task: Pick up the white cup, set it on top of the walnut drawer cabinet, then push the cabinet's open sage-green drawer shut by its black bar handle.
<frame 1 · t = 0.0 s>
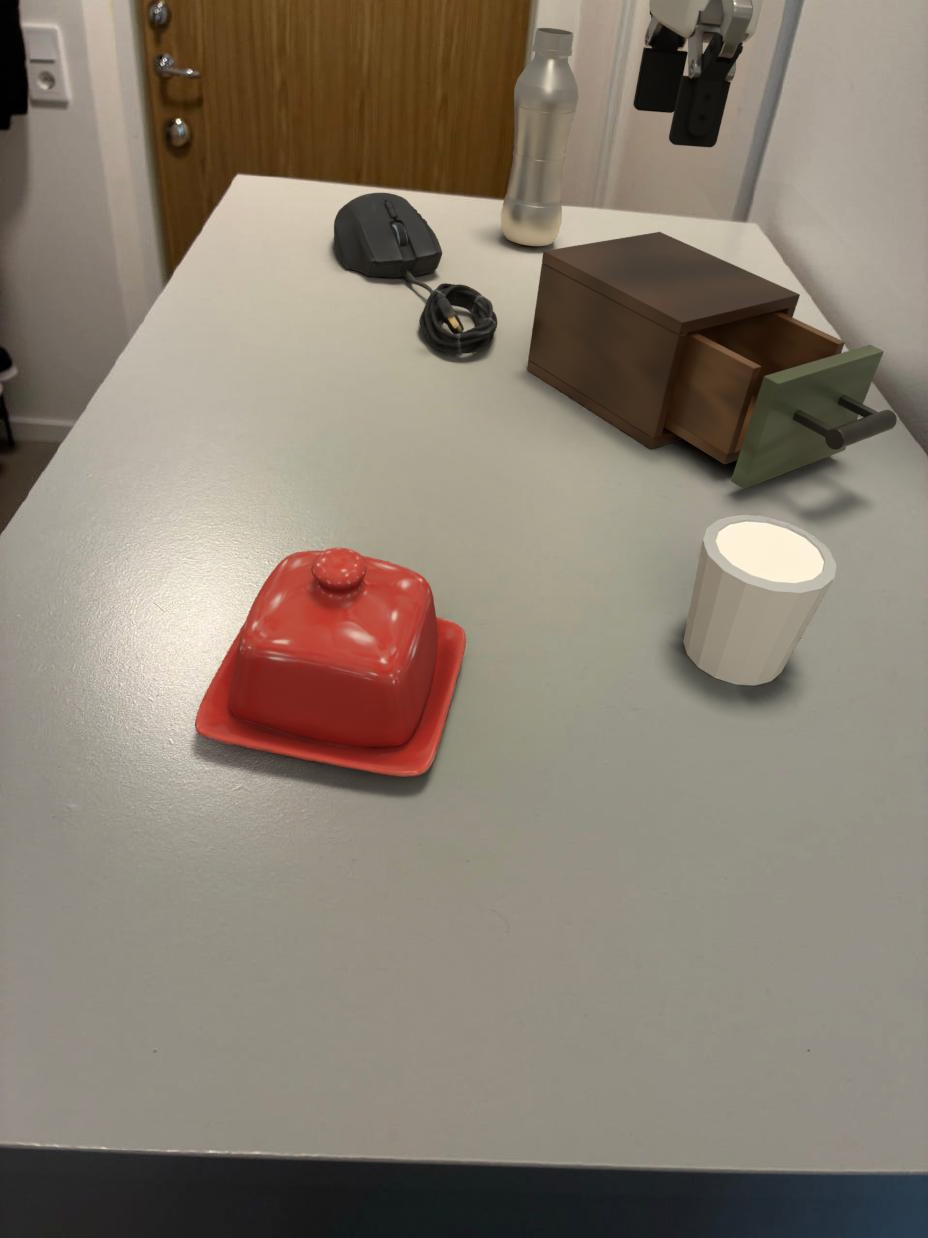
hand: (671, 126, 68), 19 cm above the table, tool pointing down, fingers open, 9 cm apart
cabinet: (642, 391, 78), on the table
computer mouse: (408, 290, 91), on the table
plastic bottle: (527, 244, 104), on the table
white cup: (732, 653, 53), on the table
butter dish: (339, 695, 48), on the table
drawer: (762, 391, 69), point 5 cm above the table, slide at 7.0 cm
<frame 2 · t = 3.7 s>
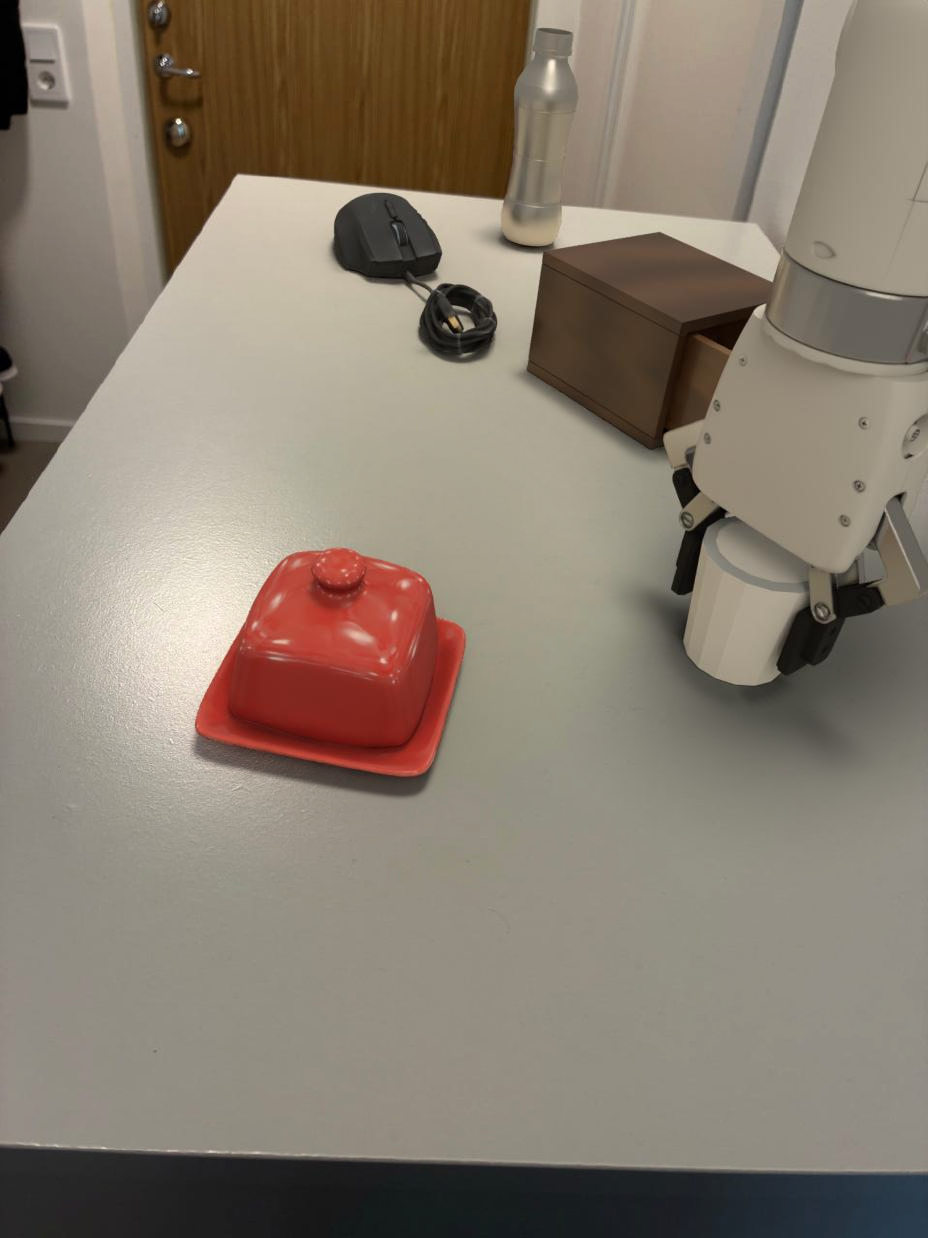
hand: (743, 621, 52), 2 cm above the table, tool pointing down, fingers closed on white cup, 6 cm apart
white cup: (732, 653, 53), on the table, touching gripper
everything else where it was.
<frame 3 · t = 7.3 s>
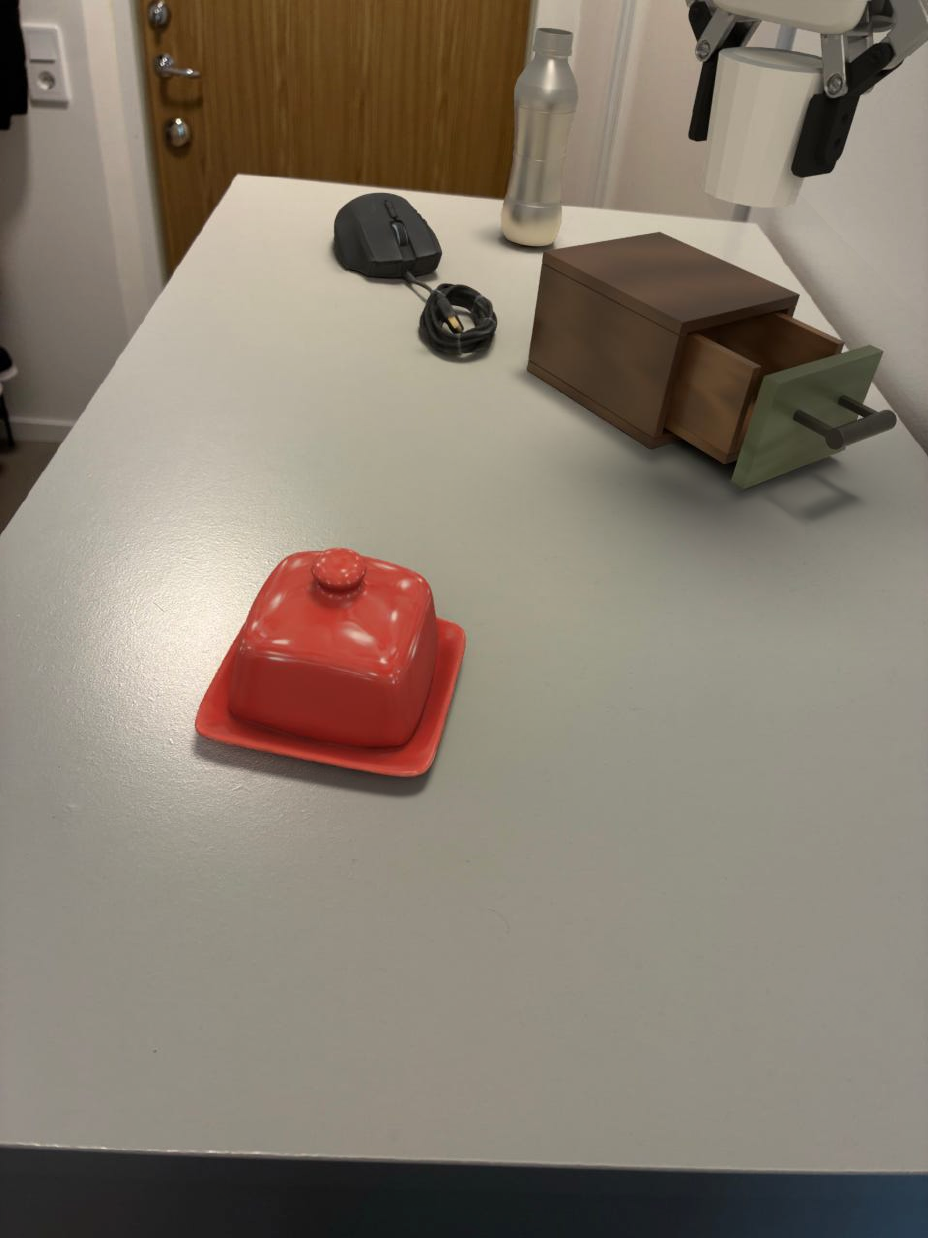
hand: (758, 152, 55), 21 cm above the table, tool pointing down, fingers closed on white cup, 6 cm apart
white cup: (747, 196, 56), point 19 cm above the table, touching gripper
everything else where it was.
when the fingers open (12 cm above the table, at t = 11.0 s): white cup stays where it is, resting on cabinet.
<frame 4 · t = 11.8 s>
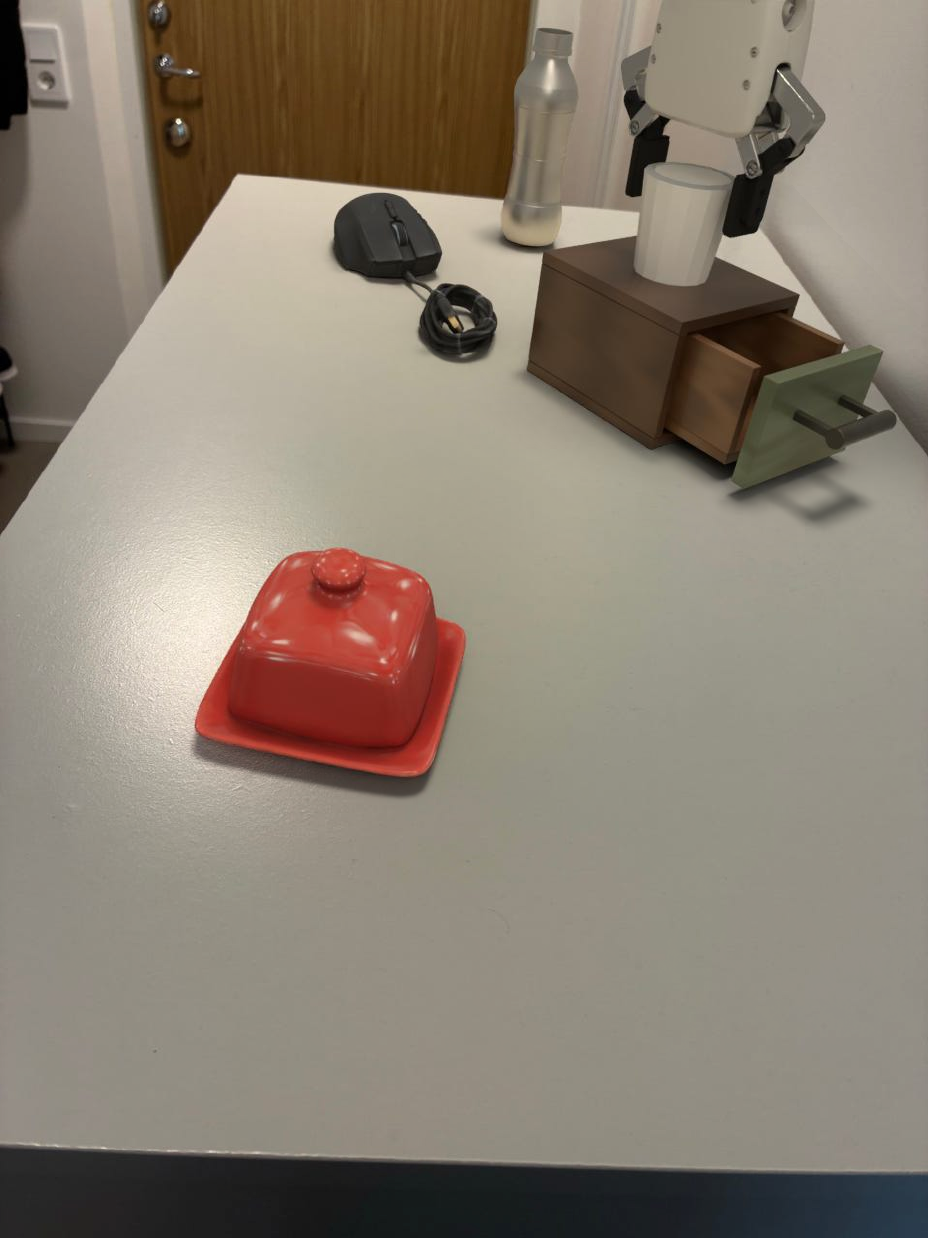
hand: (688, 213, 69), 14 cm above the table, tool pointing down, fingers open, 9 cm apart
white cup: (669, 274, 72), point 10 cm above the table, touching cabinet
everything else where it was.
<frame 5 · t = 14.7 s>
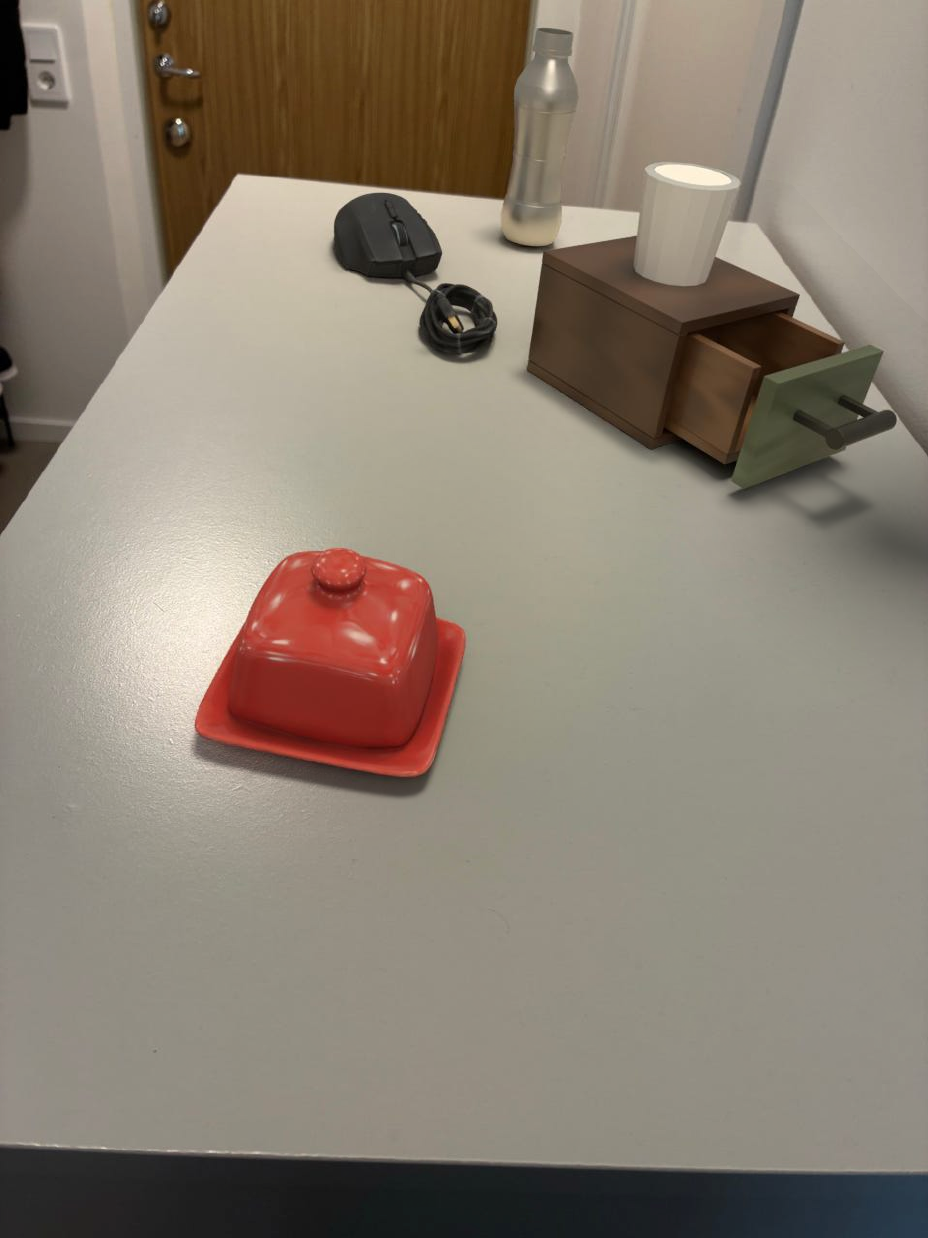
nothing on the table moved.
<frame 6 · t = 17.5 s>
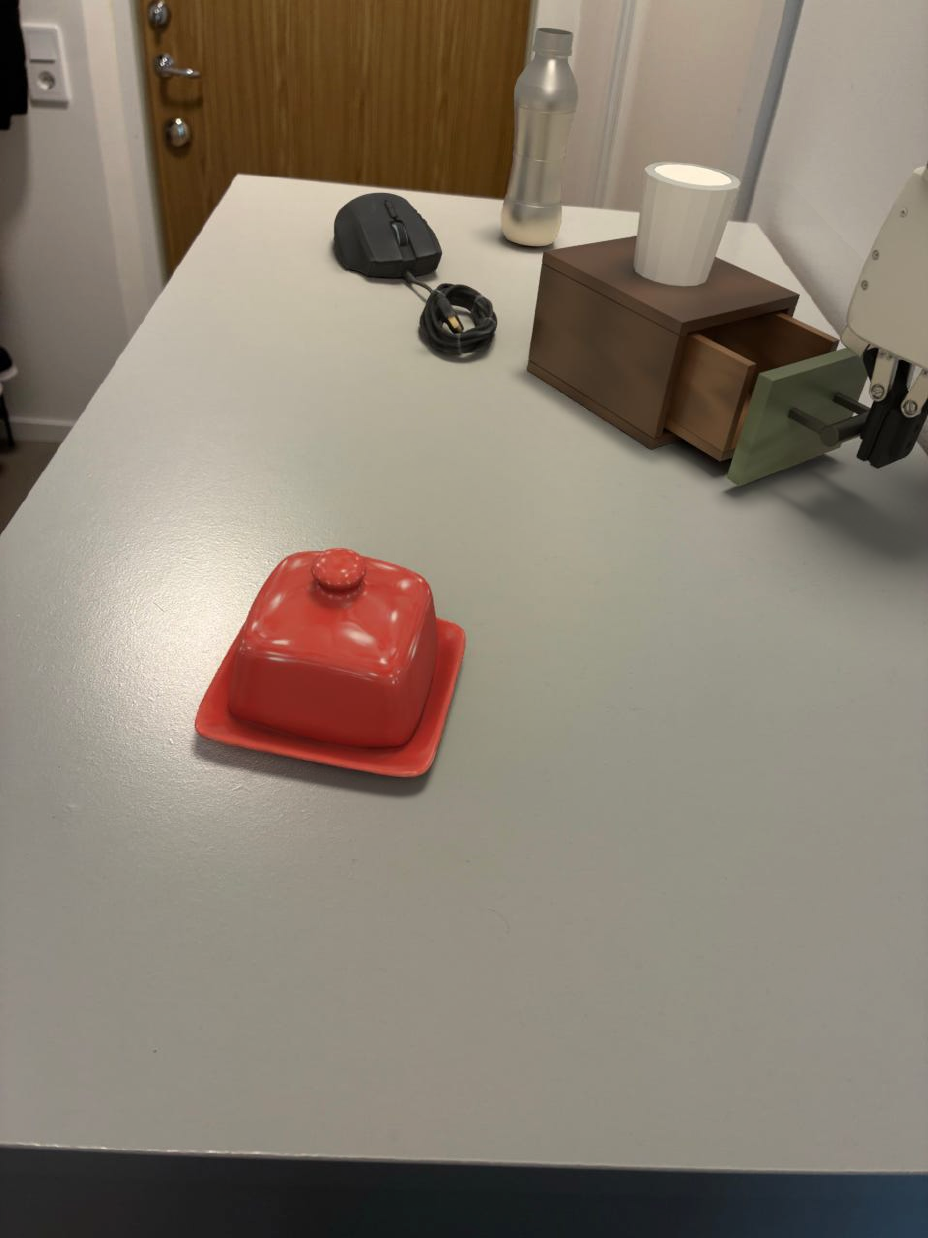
hand: (879, 458, 63), 5 cm above the table, tool pointing down, fingers closed
drawer: (757, 388, 69), point 5 cm above the table, slide at 6.6 cm
everything else where it was.
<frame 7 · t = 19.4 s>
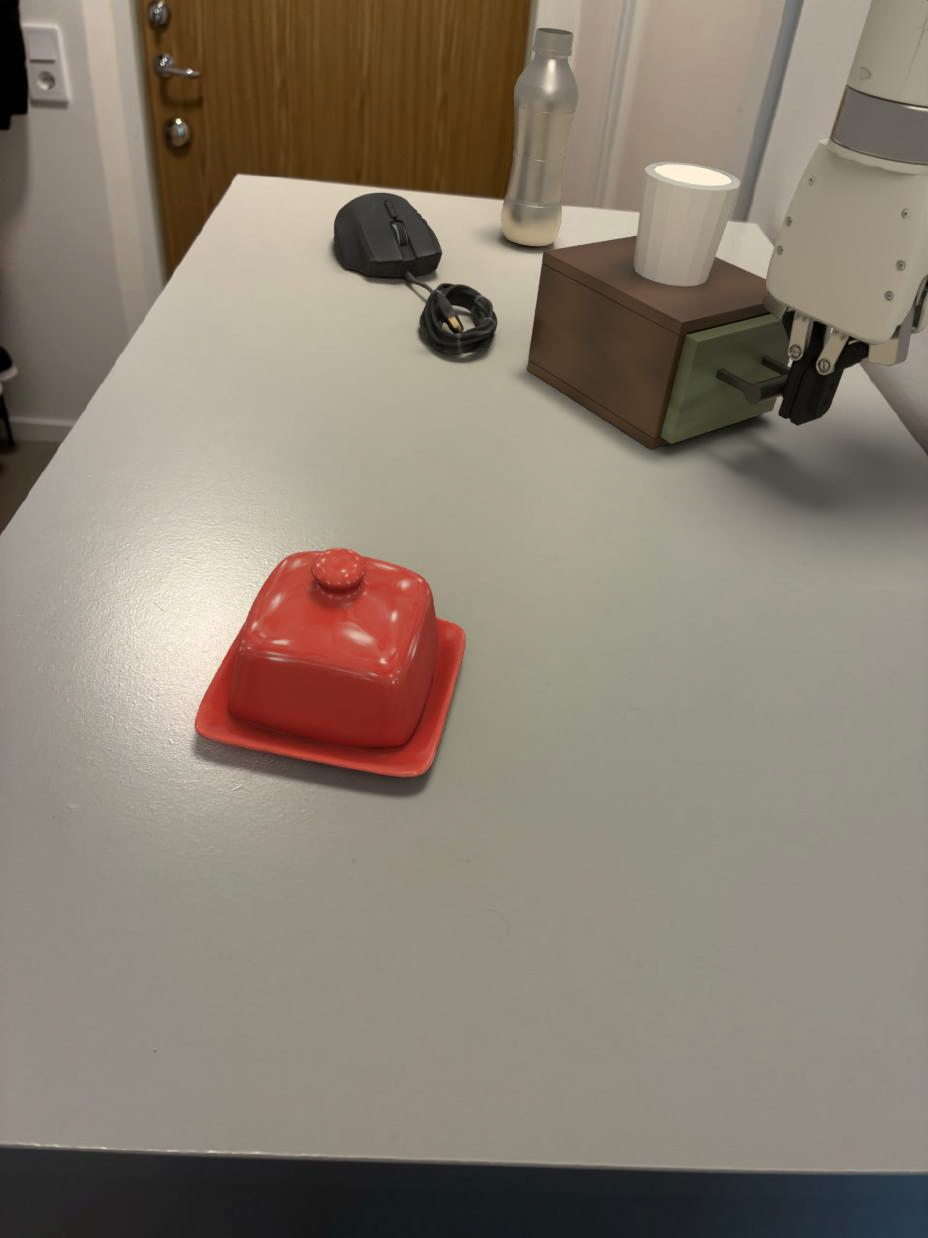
hand: (800, 416, 67), 5 cm above the table, tool pointing down, fingers closed
drawer: (691, 353, 73), point 5 cm above the table, slide at 0.0 cm, touching gripper
everything else where it was.
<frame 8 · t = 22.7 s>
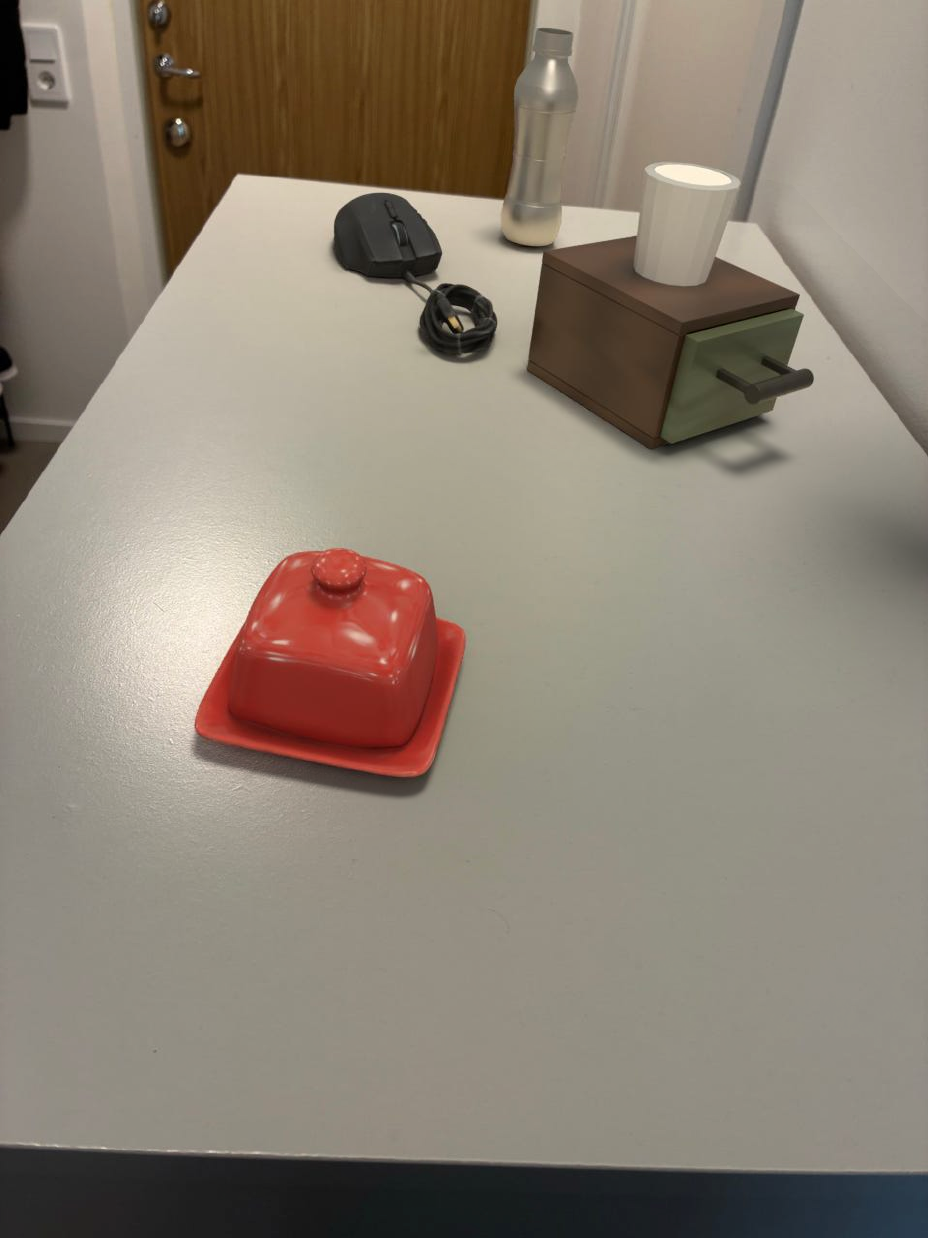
drawer: (691, 353, 73), point 5 cm above the table, slide at 0.0 cm
everything else where it was.
at the end: drawer slide at 0.0 cm; white cup inside the target area on the cabinet (0.0 cm from its centre), point 9.6 cm above the cabinet's base; white cup tilted 0° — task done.
